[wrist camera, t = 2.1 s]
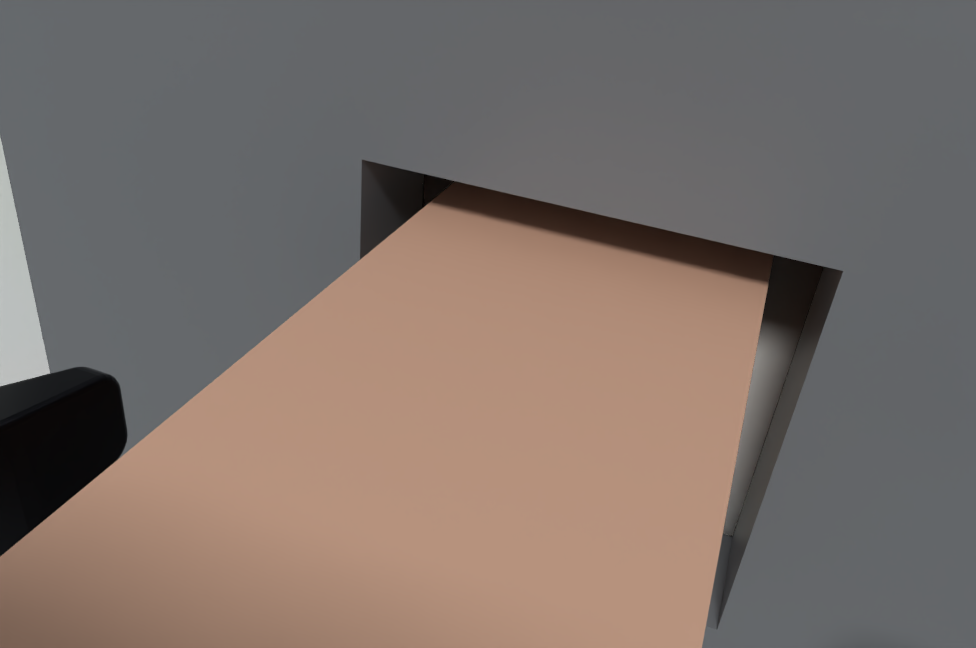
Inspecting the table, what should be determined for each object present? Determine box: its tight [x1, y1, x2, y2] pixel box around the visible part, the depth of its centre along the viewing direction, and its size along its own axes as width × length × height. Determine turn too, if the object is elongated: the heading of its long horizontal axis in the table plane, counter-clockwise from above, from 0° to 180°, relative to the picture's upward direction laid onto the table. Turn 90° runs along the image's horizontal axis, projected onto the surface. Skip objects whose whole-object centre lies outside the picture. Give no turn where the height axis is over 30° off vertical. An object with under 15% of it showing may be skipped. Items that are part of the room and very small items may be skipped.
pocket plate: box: [0, 0, 976, 648], centre depth 11 cm, size 16×16×2 cm
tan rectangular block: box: [0, 181, 774, 648], centre depth 8 cm, size 4×4×8 cm
